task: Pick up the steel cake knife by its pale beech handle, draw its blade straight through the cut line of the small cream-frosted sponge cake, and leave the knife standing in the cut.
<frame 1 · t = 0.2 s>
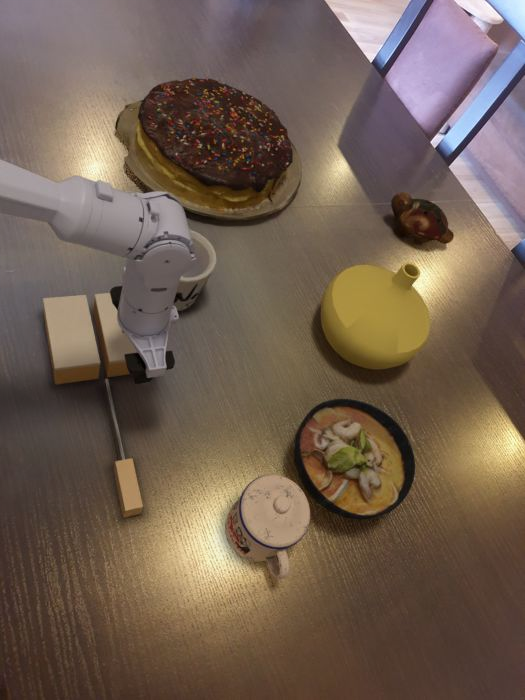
hand: (135, 355, 73), 10 cm above the table, tool pointing down, fingers open, 7 cm apart
knife: (121, 468, 75), on the table
bowl: (332, 475, 84), on the table
sponge cake: (95, 344, 83), on the table
mug: (163, 284, 93), on the table
vase: (356, 339, 99), on the table
decorative turtle: (411, 234, 118), on the table
cake: (212, 158, 113), on the table
teacup with lid: (258, 539, 75), on the table
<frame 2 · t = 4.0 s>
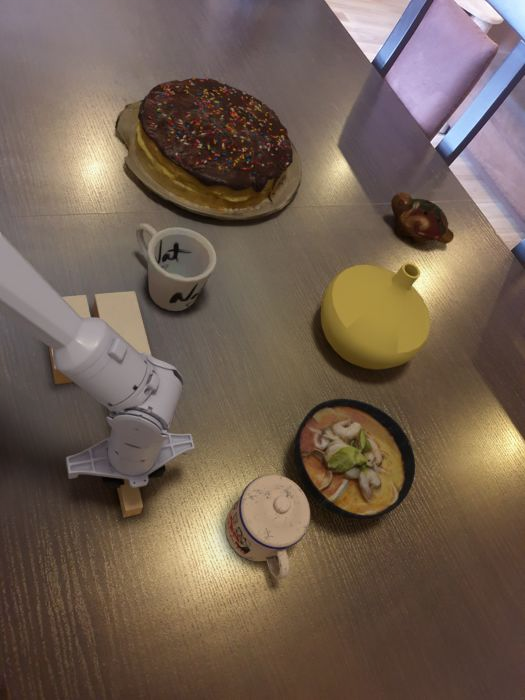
hand: (125, 478, 73), 2 cm above the table, tool pointing down, fingers closed on knife, 2 cm apart
knife: (121, 468, 75), on the table, touching gripper
everything else where it was.
when the fingers open (2 cm above the table, at t = 7.7 s): knife stays where it is, on the table.
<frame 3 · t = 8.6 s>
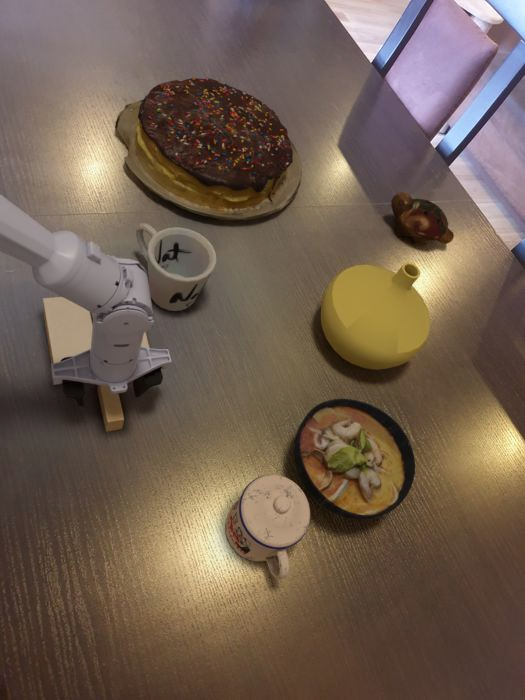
hand: (108, 395, 78), 2 cm above the table, tool pointing down, fingers open, 7 cm apart
knife: (105, 388, 80), on the table
everything else where it was.
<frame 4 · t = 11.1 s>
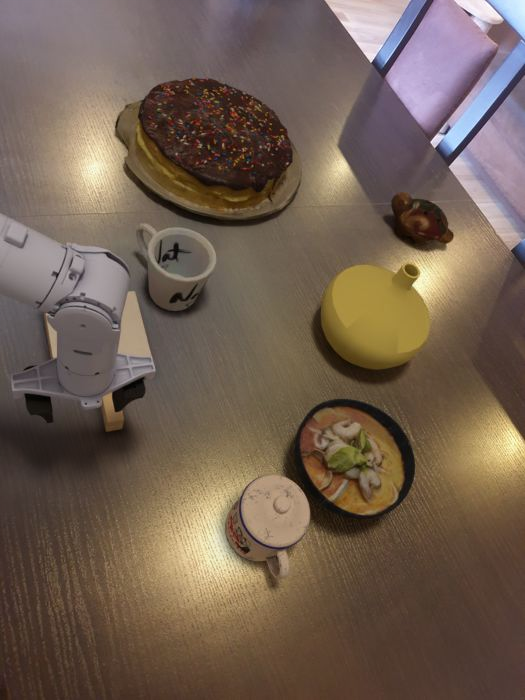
hand: (83, 409, 67), 10 cm above the table, tool pointing down, fingers open, 7 cm apart
nothing on the table moved.
at the end: knife 0.0 cm from the target spot on the table beside the sponge cake, on the table; knife tilted 0°; cake moved 0.2 cm from its start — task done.
